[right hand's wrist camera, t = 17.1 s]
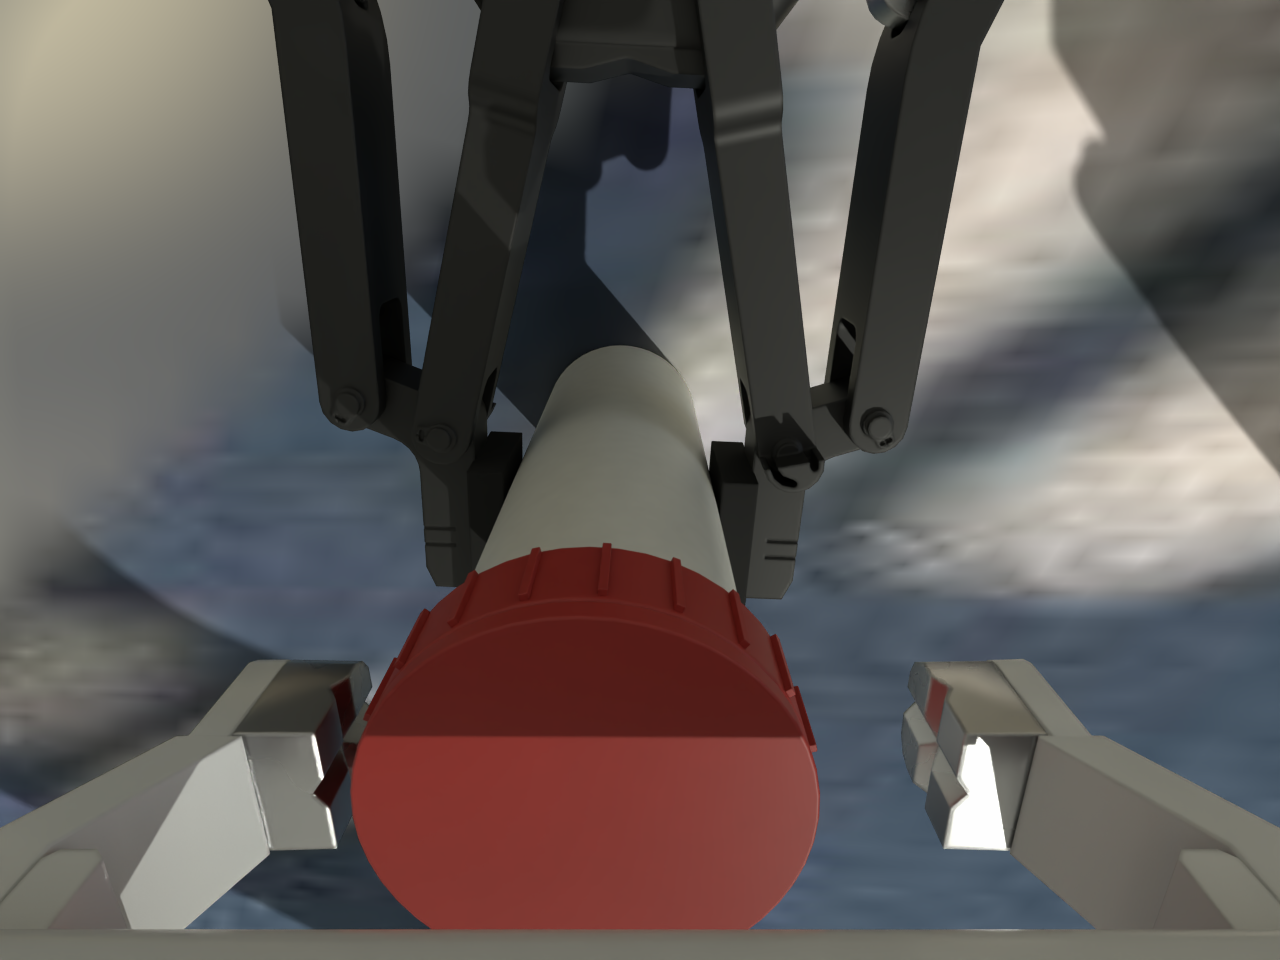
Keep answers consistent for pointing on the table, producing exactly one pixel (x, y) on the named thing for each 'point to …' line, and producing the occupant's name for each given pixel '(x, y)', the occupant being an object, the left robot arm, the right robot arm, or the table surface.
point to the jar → (615, 469)
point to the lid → (587, 753)
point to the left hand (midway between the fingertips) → (606, 691)
